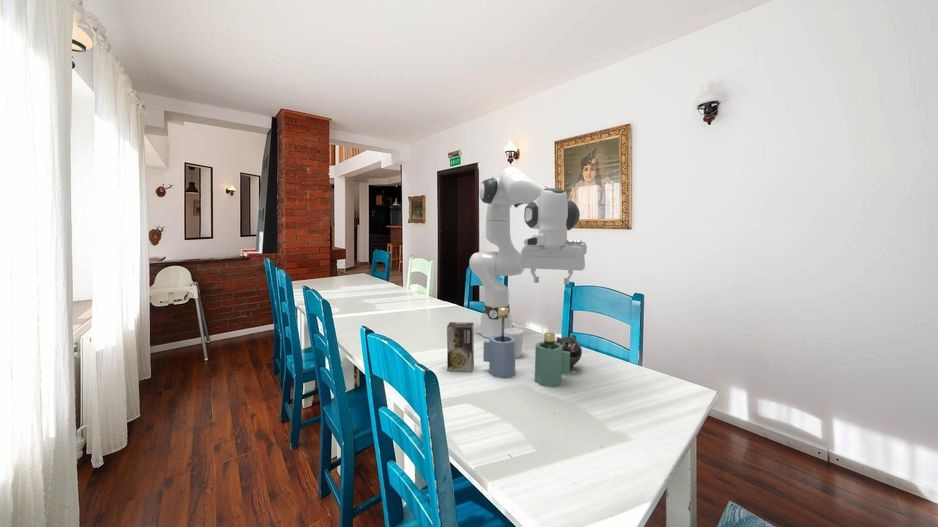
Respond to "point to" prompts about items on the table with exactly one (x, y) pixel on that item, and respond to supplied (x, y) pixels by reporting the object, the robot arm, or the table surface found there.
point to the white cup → (519, 339)
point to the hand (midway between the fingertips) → (551, 283)
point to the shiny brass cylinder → (549, 339)
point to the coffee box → (460, 346)
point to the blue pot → (500, 356)
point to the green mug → (551, 364)
